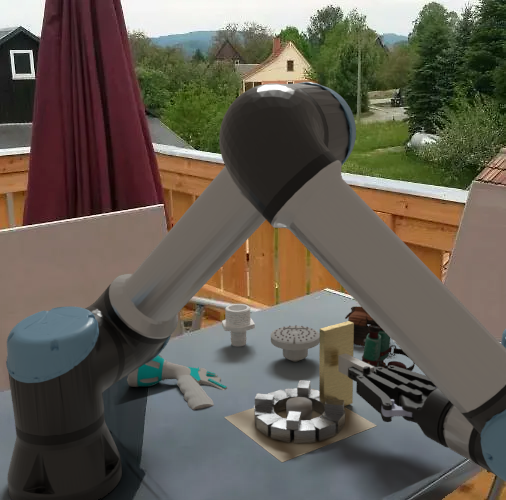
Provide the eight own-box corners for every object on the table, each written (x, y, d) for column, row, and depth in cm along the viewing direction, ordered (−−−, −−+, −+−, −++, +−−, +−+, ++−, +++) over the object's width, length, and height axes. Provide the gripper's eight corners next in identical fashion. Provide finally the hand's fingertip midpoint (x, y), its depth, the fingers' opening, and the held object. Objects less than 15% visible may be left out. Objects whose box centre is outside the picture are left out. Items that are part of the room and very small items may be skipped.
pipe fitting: (216, 344, 140) (214, 308, 138) (241, 335, 144) (240, 300, 143) (235, 352, 135) (234, 315, 133) (261, 343, 140) (260, 307, 138)
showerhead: (268, 339, 122) (272, 320, 132) (269, 375, 124) (272, 354, 134) (319, 340, 121) (319, 321, 131) (319, 376, 123) (319, 355, 133)
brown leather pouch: (331, 341, 142) (339, 304, 144) (363, 352, 146) (370, 315, 148) (369, 344, 132) (377, 304, 133) (402, 355, 136) (410, 316, 138)
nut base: (282, 469, 93) (281, 441, 92) (224, 424, 106) (223, 398, 105) (376, 432, 103) (377, 406, 102) (313, 394, 116) (313, 371, 115)
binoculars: (411, 340, 114) (357, 325, 119) (403, 395, 117) (351, 378, 122) (427, 324, 121) (375, 310, 126) (419, 376, 124) (369, 361, 129)
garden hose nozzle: (248, 386, 112) (210, 335, 129) (147, 396, 105) (121, 341, 122) (244, 423, 114) (207, 368, 131) (144, 436, 107) (119, 376, 124)
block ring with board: (289, 452, 95) (288, 361, 92) (237, 414, 106) (235, 332, 103) (379, 418, 104) (381, 334, 101) (323, 386, 116) (323, 310, 112)
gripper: (424, 464, 83) (309, 394, 102) (492, 434, 90) (372, 374, 109) (426, 409, 81) (309, 349, 101) (495, 382, 88) (373, 331, 107)
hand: (342, 362), depth 105 cm, fingers closed
